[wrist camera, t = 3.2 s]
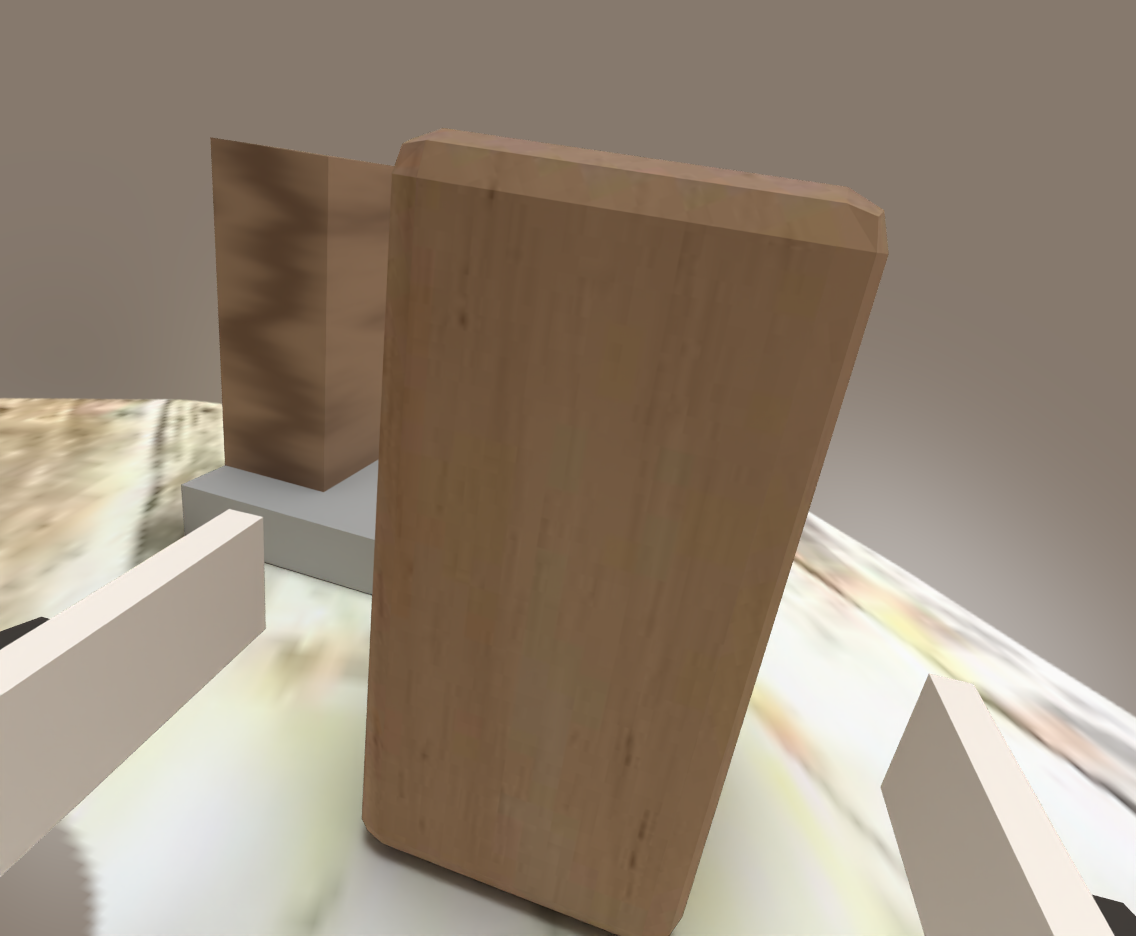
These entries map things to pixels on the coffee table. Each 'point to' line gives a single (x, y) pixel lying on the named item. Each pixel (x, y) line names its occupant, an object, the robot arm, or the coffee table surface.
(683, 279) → the block
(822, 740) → the coffee table surface
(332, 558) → the foundation
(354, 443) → the walnut pillar
